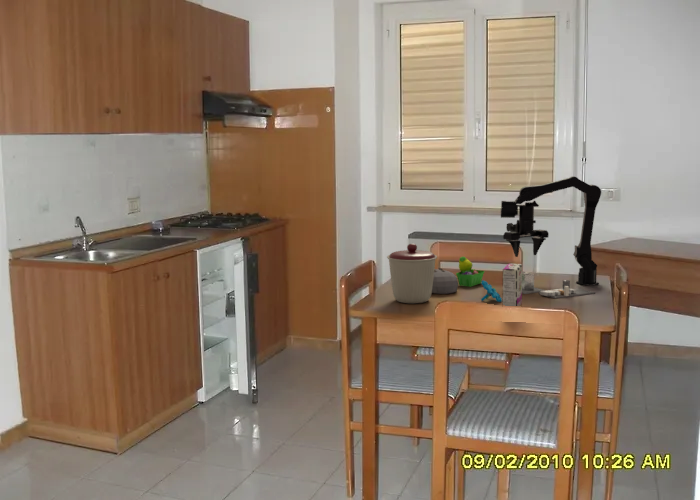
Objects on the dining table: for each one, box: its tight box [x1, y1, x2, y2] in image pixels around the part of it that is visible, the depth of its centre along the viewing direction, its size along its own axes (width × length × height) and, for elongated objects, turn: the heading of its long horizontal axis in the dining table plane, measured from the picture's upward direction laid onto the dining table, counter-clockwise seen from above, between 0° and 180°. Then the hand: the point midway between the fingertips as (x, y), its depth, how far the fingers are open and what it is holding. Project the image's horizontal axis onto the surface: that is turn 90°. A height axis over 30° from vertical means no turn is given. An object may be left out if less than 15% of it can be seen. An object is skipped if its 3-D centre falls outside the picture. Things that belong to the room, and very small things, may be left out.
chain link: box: [522, 271, 535, 291], centre depth 281 cm, size 4×10×6 cm, turn 24°
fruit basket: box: [455, 256, 485, 288], centre depth 294 cm, size 11×9×11 cm
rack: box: [539, 279, 576, 297], centre depth 270 cm, size 13×5×4 cm, turn 115°
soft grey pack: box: [431, 267, 459, 295], centre depth 284 cm, size 15×8×20 cm
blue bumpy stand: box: [480, 279, 503, 303], centre depth 263 cm, size 11×6×10 cm
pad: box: [522, 286, 546, 295], centre depth 282 cm, size 10×13×1 cm
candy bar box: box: [502, 263, 523, 307], centre depth 239 cm, size 11×5×16 cm, turn 158°
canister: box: [386, 243, 438, 304], centre depth 263 cm, size 18×18×21 cm
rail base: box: [538, 286, 596, 299], centre depth 272 cm, size 19×9×4 cm, turn 115°
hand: (525, 256), depth 295 cm, fingers open, 9 cm apart
